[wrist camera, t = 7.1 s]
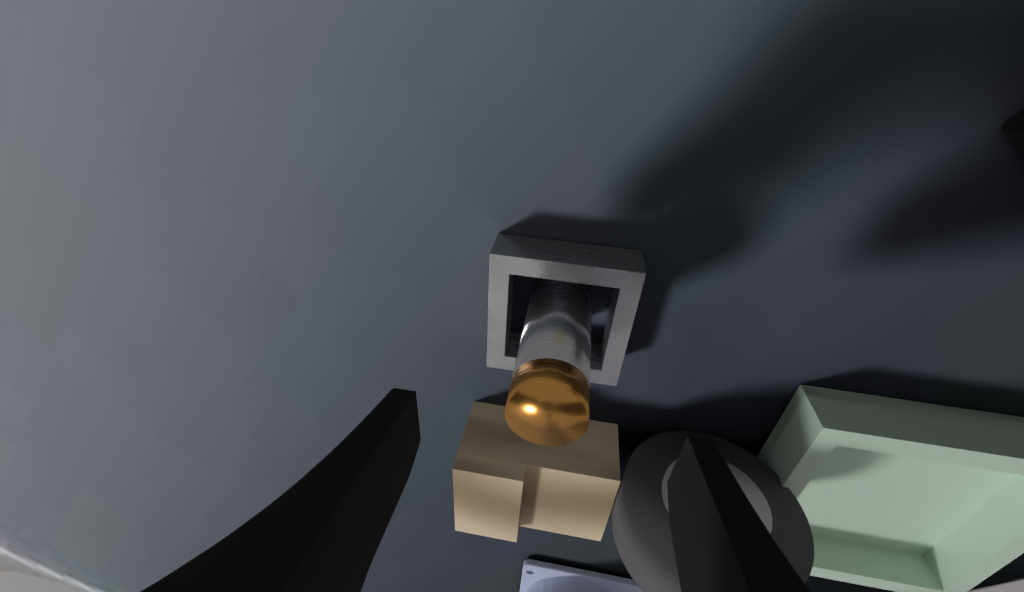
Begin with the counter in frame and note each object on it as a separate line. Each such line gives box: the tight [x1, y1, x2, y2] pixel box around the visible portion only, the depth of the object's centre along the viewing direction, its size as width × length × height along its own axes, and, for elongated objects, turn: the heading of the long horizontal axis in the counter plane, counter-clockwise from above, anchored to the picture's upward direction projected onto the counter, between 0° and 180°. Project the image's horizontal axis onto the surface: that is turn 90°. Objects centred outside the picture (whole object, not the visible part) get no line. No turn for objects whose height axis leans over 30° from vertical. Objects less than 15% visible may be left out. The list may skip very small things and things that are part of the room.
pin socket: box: [487, 233, 646, 386], centre depth 17 cm, size 5×5×2 cm
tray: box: [757, 384, 1024, 592], centre depth 19 cm, size 10×10×2 cm
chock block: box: [453, 401, 620, 542], centre depth 21 cm, size 5×7×4 cm
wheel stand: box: [612, 430, 814, 592], centre depth 18 cm, size 5×7×7 cm
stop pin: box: [505, 279, 592, 446], centre depth 15 cm, size 2×2×6 cm
